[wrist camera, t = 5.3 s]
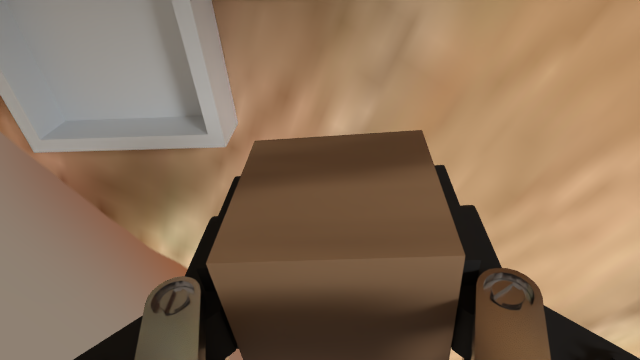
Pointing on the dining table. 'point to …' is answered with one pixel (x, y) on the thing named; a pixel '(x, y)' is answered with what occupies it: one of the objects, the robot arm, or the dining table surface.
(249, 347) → the walnut cube
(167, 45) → the grey tote
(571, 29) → the dining table surface
